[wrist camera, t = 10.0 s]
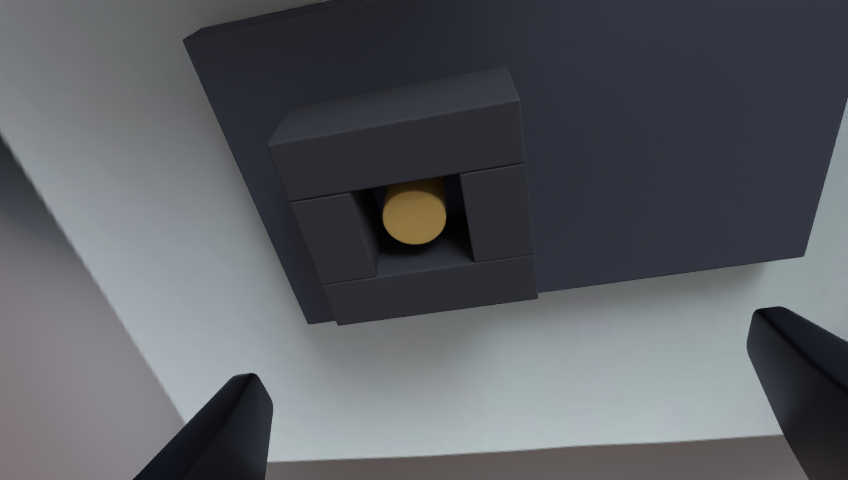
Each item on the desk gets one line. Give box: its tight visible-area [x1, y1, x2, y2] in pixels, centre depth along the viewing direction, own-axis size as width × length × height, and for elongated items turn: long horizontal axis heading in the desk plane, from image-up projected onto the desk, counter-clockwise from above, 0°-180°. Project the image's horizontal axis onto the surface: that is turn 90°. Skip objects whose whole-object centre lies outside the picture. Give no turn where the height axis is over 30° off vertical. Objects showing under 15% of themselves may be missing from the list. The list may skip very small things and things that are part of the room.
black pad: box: [267, 66, 538, 325], centre depth 17 cm, size 7×7×3 cm
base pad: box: [183, 0, 848, 324], centre depth 17 cm, size 20×12×4 cm, turn 101°
